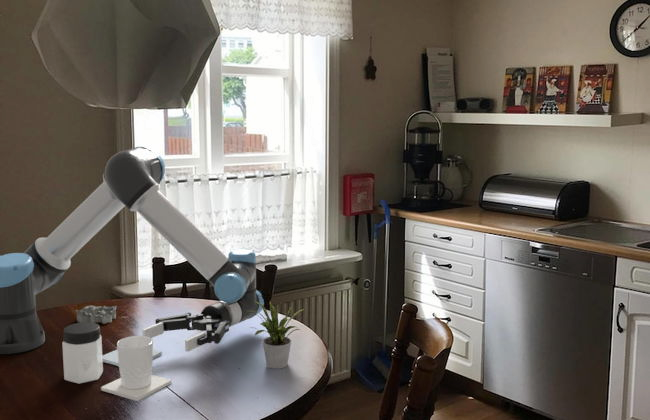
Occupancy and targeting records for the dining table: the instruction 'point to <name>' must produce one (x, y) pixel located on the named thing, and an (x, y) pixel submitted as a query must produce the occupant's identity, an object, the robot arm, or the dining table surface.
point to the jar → (82, 352)
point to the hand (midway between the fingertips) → (164, 340)
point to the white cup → (135, 361)
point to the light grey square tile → (113, 357)
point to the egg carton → (96, 314)
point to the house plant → (276, 338)
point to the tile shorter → (136, 394)
